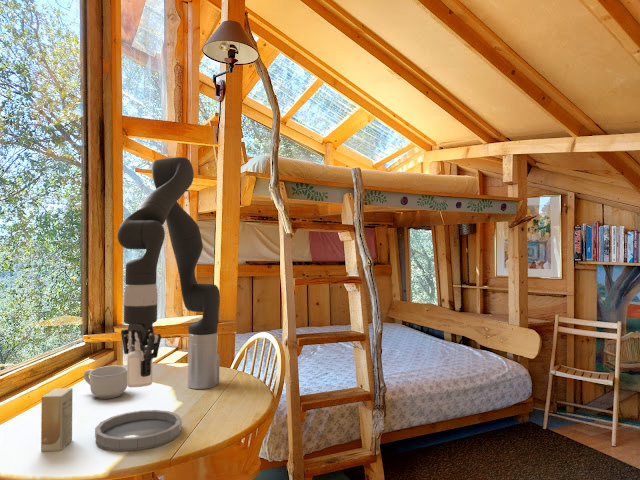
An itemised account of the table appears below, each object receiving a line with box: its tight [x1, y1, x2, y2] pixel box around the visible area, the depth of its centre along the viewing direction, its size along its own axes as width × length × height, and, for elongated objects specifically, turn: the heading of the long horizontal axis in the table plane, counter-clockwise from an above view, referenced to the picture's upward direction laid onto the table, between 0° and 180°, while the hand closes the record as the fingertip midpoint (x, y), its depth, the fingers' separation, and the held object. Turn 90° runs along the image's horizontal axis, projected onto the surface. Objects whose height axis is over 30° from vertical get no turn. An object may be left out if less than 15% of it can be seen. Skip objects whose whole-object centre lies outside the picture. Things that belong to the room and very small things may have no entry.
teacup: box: [83, 365, 128, 400], centre depth 145 cm, size 14×11×8 cm
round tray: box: [94, 409, 183, 453], centre depth 114 cm, size 19×19×3 cm
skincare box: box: [40, 387, 74, 452], centre depth 108 cm, size 6×4×12 cm
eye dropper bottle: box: [126, 341, 153, 388], centre depth 114 cm, size 4×6×12 cm
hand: (140, 374), depth 114 cm, fingers closed on eye dropper bottle, 4 cm apart
